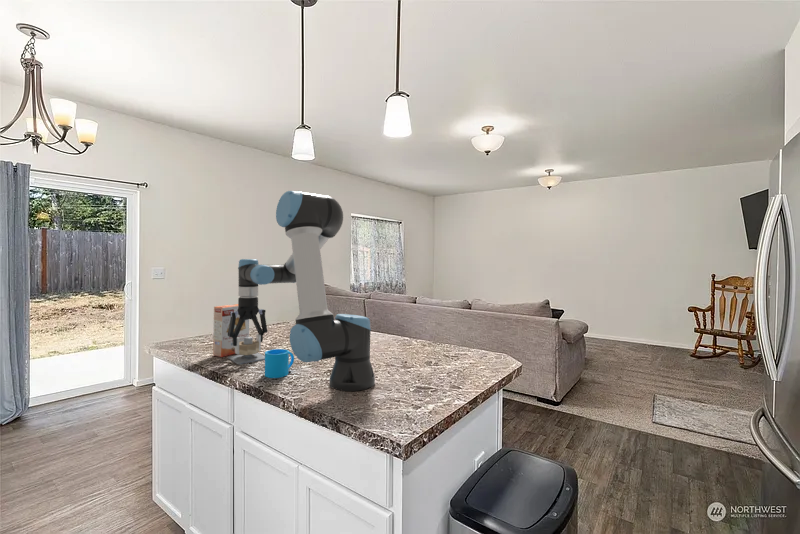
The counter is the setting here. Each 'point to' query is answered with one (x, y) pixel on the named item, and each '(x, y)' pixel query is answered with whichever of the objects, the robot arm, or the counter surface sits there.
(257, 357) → the post plate
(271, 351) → the mug
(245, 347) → the ring
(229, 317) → the cracker box
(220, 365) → the counter surface
